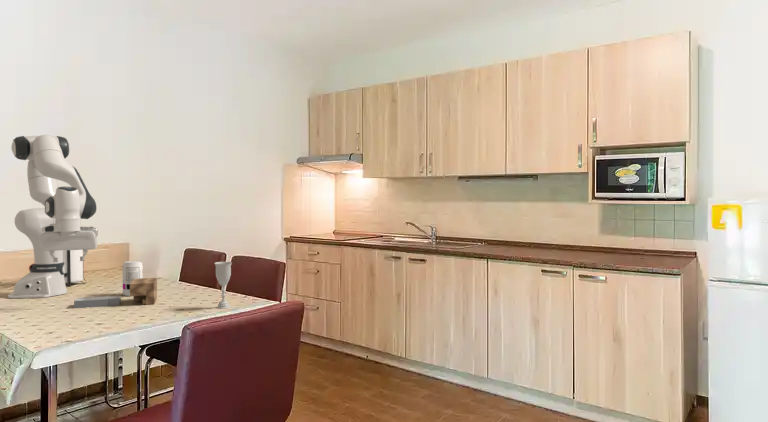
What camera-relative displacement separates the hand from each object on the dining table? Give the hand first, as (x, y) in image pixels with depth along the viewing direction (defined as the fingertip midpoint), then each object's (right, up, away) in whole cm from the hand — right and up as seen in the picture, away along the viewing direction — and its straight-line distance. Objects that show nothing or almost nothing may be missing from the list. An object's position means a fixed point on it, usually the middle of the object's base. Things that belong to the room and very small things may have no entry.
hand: (68, 261), depth 211 cm
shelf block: (+25, -18, +12) cm, 33 cm away
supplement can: (+13, -18, +27) cm, 35 cm away
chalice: (+61, -19, +2) cm, 64 cm away
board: (+9, -19, +5) cm, 21 cm away
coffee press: (-32, -17, +52) cm, 64 cm away
